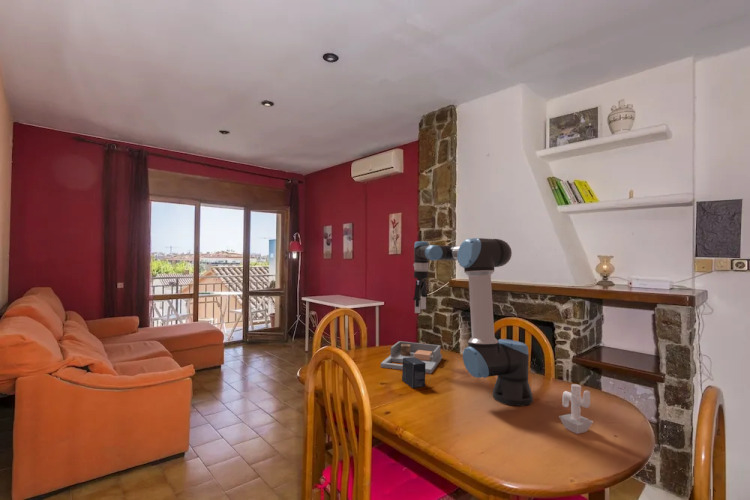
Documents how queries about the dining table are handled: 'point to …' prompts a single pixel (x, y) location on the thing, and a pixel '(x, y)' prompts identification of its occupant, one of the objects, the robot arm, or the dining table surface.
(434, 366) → the cubby deck
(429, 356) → the terracotta tile
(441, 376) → the dining table surface
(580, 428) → the figurine
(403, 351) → the walnut block
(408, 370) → the box
